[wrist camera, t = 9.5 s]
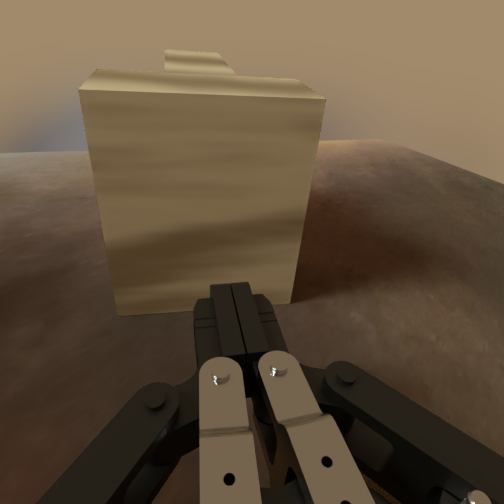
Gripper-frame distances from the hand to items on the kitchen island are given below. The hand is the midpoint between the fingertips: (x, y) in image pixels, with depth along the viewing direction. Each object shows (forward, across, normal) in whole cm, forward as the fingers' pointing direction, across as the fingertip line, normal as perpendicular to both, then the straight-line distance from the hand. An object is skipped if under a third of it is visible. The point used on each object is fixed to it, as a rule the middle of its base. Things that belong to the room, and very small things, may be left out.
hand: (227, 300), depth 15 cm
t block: (+14, 0, +7) cm, 16 cm away
